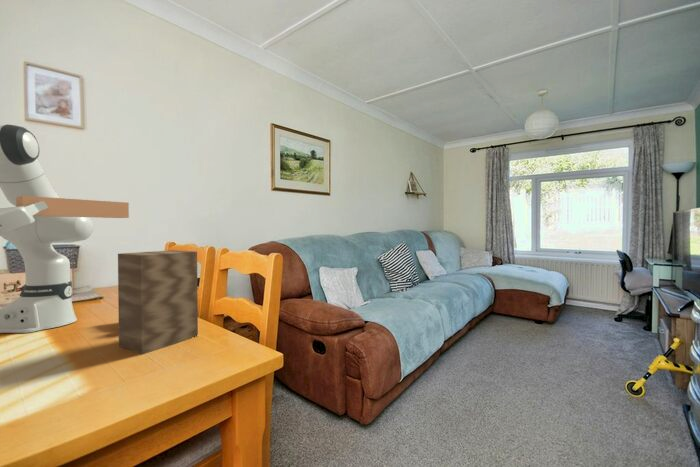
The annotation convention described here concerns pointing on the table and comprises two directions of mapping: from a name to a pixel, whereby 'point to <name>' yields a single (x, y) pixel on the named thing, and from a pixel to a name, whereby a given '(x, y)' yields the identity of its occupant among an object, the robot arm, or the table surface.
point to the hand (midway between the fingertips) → (40, 204)
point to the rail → (77, 207)
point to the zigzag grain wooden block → (157, 299)
